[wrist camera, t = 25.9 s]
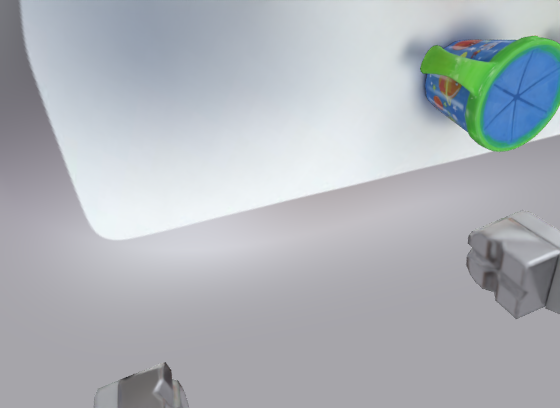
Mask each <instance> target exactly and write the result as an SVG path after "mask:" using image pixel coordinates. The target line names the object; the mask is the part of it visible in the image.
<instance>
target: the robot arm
mask: <svg viewBox="0 0 560 408" xmlns="http://www.w3.org/2000/svg"><path fill="white" fill-rule="evenodd" d="M468 244H469V245H470V246H471V247H472V249H471V250H470V252H469V253H468V255H467V268H468V270H469V273H470V275H471V276H472V278H473V279H474V281H475V282H476V283H477V284H478V285H479V286H480V287H481V288H482V289H486V290H489V291H492V292H494V295H495V300H496V301H497V302H498V303H499V304H500V305H501V306H502V307H503V308H505V310H507V311H508V312H509V313H510V314H511V315H512V316H513V317H514V318H515V319H518V318H520V317H522V316H525V315H527V314H529V313H531V312H534V311H536V310H538V309H540V308H543V307H545V306H546V309H548V310H551V311H553V312H555V313H558V314H560V230H558V229H557V228H555V227H553V226H552V225H550V224H548V223H547V222H545V221H543V220H542V219H540V218H539V217H537V216H535V215H534V214H532V213H531V212H528V211H524V210H522V211H519V212H517V213H514V214H512V215H509V216H507V217H505V218H502V219H499V220H497V221H495V222H493V223H490V224H488V225H486V226H483V227H481V228H479V229H476V230H474V231H472V232H471V233H470V235H469V237H468ZM94 408H189V405H188V402H187V398H186V395H185V392H184V390H183V388H182V386H181V384H180V383H179V381H178V380H174V379H172V373H171V369H170V368H169V366H168V365H167V364H166V362H165V363H161V364H159V365H156V366H154V367H151V368H149V369H146V370H144V371H141V372H139V373H136V374H133V375H131V376H128V377H126V378H123V379H121V380H119V381H116V382H114V383H111V384H109V385H106V386H104V387H102V388H99V389H98V390H97V392H96V395H95V398H94Z"/></svg>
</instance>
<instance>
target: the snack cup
mask: <svg viewBox="0 0 560 408" xmlns="http://www.w3.org/2000/svg"><path fill="white" fill-rule="evenodd" d="M420 70H421V72H422V73H423V74H427V78H426V85H425V89H426V93H427V94H426V97H427V98H428V100H429V101H430V102H431V103H432V104H433V105H434V107H436V108H437V109H438V110H439V111H441V112H442V113H443V114H445V115H446V116H447V117H448V118H450V119H451V120H452V121H454V122H455V123H456V124H458V125H459V126H460V127H461V128H463V129H464V130H465V131H467V132H468V133H469V135H470V137H471V138H472V139H473V140H474V141H475V142H476V143H478V144H479V145H481V146H483V147H485V148H487V149H489V150H492V151H509V150H512V149H515V148H517V147H519V146H521V145H523V144H525V143H527V142H528V141H530V140H531V139H532V138H534V137H535V136H536V135H537V134H538V133H539V132H540V131H541V130H542V129H543V128H544V127H545V126H546V125H547V124H548V122H549V121H550V120H551V118H552V117H553V116H554V114H555V113H556V111H557V109H558V107H559V106H560V44H559V43H557V42H555V41H553V40H549V39H546V38H540V37H538V36H529V37H524V38H521V39H519V40H459V41H456V42H453V43H452V44H450V45H449V46H447V47H446V48H444V49H443V48H442V47H441V46H438V45H435V46H433V47H431V48H430V50H429V51H428V52H427V53H426V55H425V57H424V59H423V61H422V64H421V68H420Z"/></svg>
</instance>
